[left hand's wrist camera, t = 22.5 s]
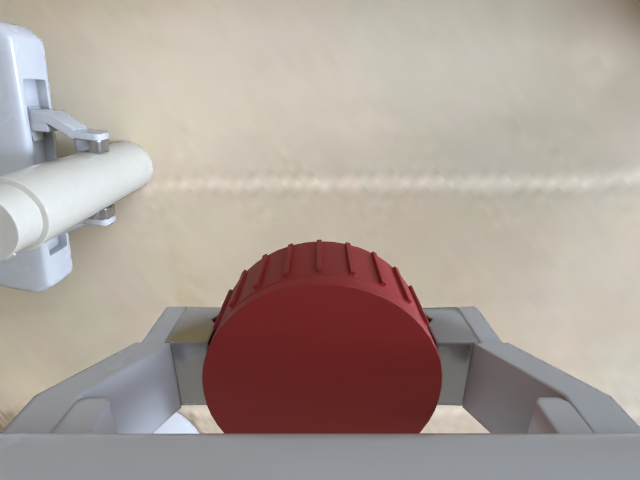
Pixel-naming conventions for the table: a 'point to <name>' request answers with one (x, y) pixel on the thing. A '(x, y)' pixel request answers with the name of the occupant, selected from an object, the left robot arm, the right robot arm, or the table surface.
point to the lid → (321, 347)
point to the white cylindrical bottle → (66, 193)
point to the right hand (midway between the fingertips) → (108, 179)
